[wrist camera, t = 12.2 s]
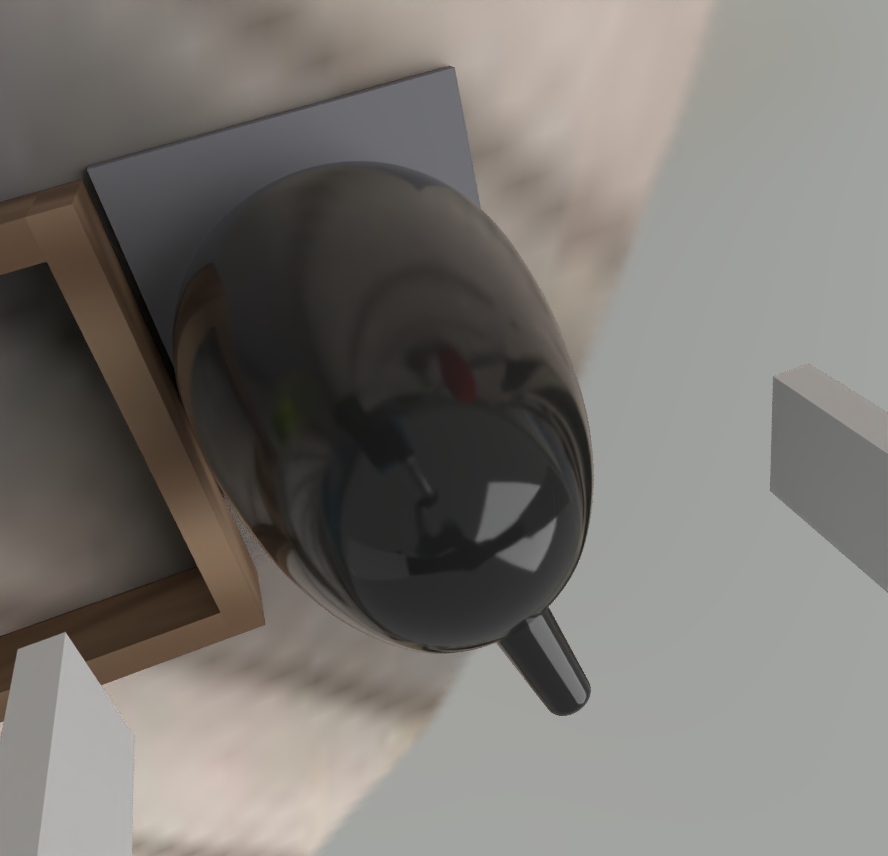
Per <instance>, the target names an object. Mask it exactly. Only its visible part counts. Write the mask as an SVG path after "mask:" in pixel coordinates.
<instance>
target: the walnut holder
mask: <svg viewBox="0 0 888 856" xmlns="http://www.w3.org/2000/svg"><path fill="white" fill-rule="evenodd" d="M44 262H47V263H48V265H49V267H50V269H51V271H52V273H53V275H54V277H55V279H56V281H57V283H58V285H59V287H60V289H61V291H62V293H63V295H64V298H65V300H66V302H67V304H68V306H69V308H70V310H71V312H72V314H73V316H74V318H75V320H76V322H77V324H78V326H79V328H80V330H81V332H82V334H83V336H84V338H85V340H86V342H87V344H88V346H89V348H90V350H91V352H92V354H93V356H94V358H95V360H96V362H97V364H98V366H99V368H100V370H101V372H102V374H103V376H104V378H105V380H106V382H107V384H108V386H109V388H110V390H111V392H112V394H113V396H114V398H115V400H116V402H117V404H118V407H119V409H120V411H121V413H122V415H123V417H124V419H125V421H126V423H127V425H128V427H129V429H130V431H131V433H132V435H133V437H134V439H135V441H136V443H137V445H138V447H139V449H140V451H141V453H142V455H143V457H144V459H145V461H146V463H147V465H148V467H149V469H150V471H151V473H152V475H153V477H154V479H155V481H156V483H157V485H158V487H159V489H160V491H161V493H162V495H163V497H164V499H165V501H166V503H167V505H168V507H169V509H170V511H171V513H172V516H173V518H174V520H175V522H176V524H177V526H178V528H179V530H180V532H181V534H182V536H183V538H184V540H185V542H186V544H187V546H188V548H189V550H190V552H191V554H192V556H193V558H194V560H195V562H196V564H197V566H198V567H196V568H193V569H191V570H188V571H185V572H182V573H179V574H176V575H174V576H171V577H168V578H165V579H162V580H159V581H157V582H154V583H151V584H148V585H145V586H143V587H140V588H137V589H134V590H131V591H128V592H126V593H123V594H120V595H117V596H114V597H111V598H109V599H106V600H103V601H100V602H97V603H95V604H92V605H89V606H86V607H83V608H80V609H78V610H75V611H72V612H69V613H66V614H63V615H61V616H58V617H55V618H52V619H49V620H47V621H44V622H41V623H38V624H35V625H32V626H30V627H27V628H24V629H21V630H18V631H15V632H13V633H10V634H7V635H4V636H1V637H0V722H3V721H4V718H5V713H6V708H7V702H8V697H9V692H10V687H11V682H12V676H13V671H14V666H15V661H16V656H17V650H18V649H20V648H23V647H26V646H28V645H31V644H34V643H37V642H39V641H42V640H45V639H48V638H50V637H53V636H56V635H59V634H62V633H64V632H66V634H67V635H68V637H69V638H70V640H71V641H72V643H73V644H74V646H75V647H76V649H77V650H78V652H79V653H80V655H81V656H82V658H83V659H84V661H85V662H86V664H87V665H88V667H89V668H90V670H91V671H92V673H93V674H94V676H95V677H96V679H97V680H98V682H99V683H100V685H103V684H106V683H108V682H111V681H114V680H116V679H119V678H122V677H125V676H127V675H130V674H133V673H135V672H138V671H141V670H144V669H146V668H149V667H152V666H154V665H157V664H160V663H163V662H165V661H168V660H171V659H173V658H176V657H179V656H181V655H184V654H187V653H190V652H192V651H195V650H198V649H200V648H203V647H206V646H209V645H211V644H214V643H217V642H219V641H222V640H225V639H228V638H230V637H233V636H236V635H238V634H241V633H244V632H247V631H249V630H252V629H255V628H257V627H260V626H263V625H265V619H264V612H263V606H262V599H261V593H260V587H259V580H258V574H257V571H256V568H255V566H254V564H253V562H252V560H251V557H250V555H249V553H248V551H247V548H246V546H245V544H244V542H243V539H242V537H241V535H240V533H239V530H238V528H237V526H236V524H235V521H234V519H233V517H232V515H231V512H230V510H229V508H228V506H227V503H226V501H225V499H224V497H223V494H222V492H221V490H220V488H219V485H218V484H217V482H216V480H215V479H214V477H213V475H212V473H211V471H210V469H209V468H208V466H207V464H206V462H205V460H204V458H203V455H202V453H201V451H200V449H199V447H198V444H197V442H196V440H195V437H194V435H193V433H192V430H191V428H190V425H189V422H188V420H187V417H186V414H185V412H184V409H183V405H182V402H181V400H180V398H179V395H178V393H177V391H176V389H175V387H174V384H173V382H172V380H171V378H170V375H169V373H168V371H167V369H166V366H165V364H164V362H163V360H162V357H161V355H160V353H159V351H158V348H157V346H156V344H155V342H154V339H153V337H152V335H151V333H150V330H149V328H148V326H147V324H146V321H145V319H144V317H143V315H142V312H141V310H140V308H139V306H138V303H137V301H136V299H135V297H134V294H133V292H132V290H131V288H130V285H129V283H128V281H127V279H126V276H125V274H124V272H123V270H122V267H121V265H120V263H119V261H118V258H117V256H116V254H115V252H114V249H113V247H112V245H111V243H110V240H109V238H108V236H107V234H106V231H105V229H104V227H103V225H102V223H101V220H100V218H99V216H98V214H97V211H96V209H95V207H94V205H93V202H92V200H91V198H90V196H89V193H88V191H87V189H86V187H85V184H84V182H83V180H78V181H75V182H71V183H68V184H64V185H60V186H57V187H53V188H50V189H46V190H43V191H39V192H35V193H32V194H28V195H25V196H21V197H17V198H14V199H10V200H7V201H3V202H0V275H3V274H6V273H10V272H13V271H17V270H20V269H23V268H27V267H30V266H34V265H37V264H41V263H44Z"/></svg>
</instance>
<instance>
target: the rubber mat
mask: <svg viewBox="0 0 888 856" xmlns="http://www.w3.org/2000/svg"><path fill="white" fill-rule="evenodd" d="M344 161H374V162H383V163H390V164H395V165H400V166H404V167H407V168H411V169H414V170H417V171H420V172H423V173H425V174H427V175H430V176H432V177H434V178H436V179H438V180H440V181H442V182H444V183H446V184H448V185H449V186H451V187H452V188H454V189H456V190H457V191H459V192H460V193H461V194H463V195H464V196H466V197H467V198H468V199H469V200H471V201H472V202H473V203H475V204H476V205H477V206H478V207H479V208H480V209H481V207H480V202H479V196H478V191H477V186H476V180H475V175H474V169H473V164H472V159H471V153H470V148H469V143H468V137H467V132H466V126H465V121H464V116H463V110H462V105H461V99H460V94H459V89H458V83H457V78H456V73H455V67H451V66H448V67H444V68H440V69H437V70H433V71H429V72H426V73H422V74H419V75H415V76H411V77H408V78H404V79H401V80H397V81H393V82H390V83H386V84H383V85H379V86H375V87H372V88H368V89H365V90H361V91H357V92H354V93H350V94H346V95H343V96H339V97H336V98H332V99H328V100H325V101H321V102H318V103H314V104H310V105H307V106H303V107H300V108H296V109H292V110H289V111H285V112H281V113H278V114H274V115H271V116H267V117H263V118H260V119H256V120H253V121H249V122H245V123H242V124H238V125H235V126H231V127H227V128H224V129H220V130H217V131H213V132H209V133H206V134H202V135H198V136H195V137H191V138H188V139H184V140H180V141H177V142H173V143H170V144H166V145H162V146H159V147H155V148H152V149H148V150H144V151H141V152H137V153H134V154H130V155H126V156H123V157H119V158H115V159H112V160H108V161H105V162H101V163H97V164H94V165H90V166H88V168H87V171H88V173H89V176H90V178H91V180H92V183H93V185H94V187H95V189H96V192H97V194H98V196H99V198H100V201H101V203H102V205H103V208H104V210H105V212H106V214H107V217H108V219H109V221H110V223H111V226H112V228H113V230H114V233H115V235H116V237H117V239H118V242H119V244H120V246H121V249H122V251H123V253H124V255H125V258H126V260H127V262H128V264H129V267H130V269H131V271H132V274H133V276H134V278H135V280H136V283H137V285H138V287H139V290H140V292H141V294H142V296H143V299H144V301H145V303H146V305H147V308H148V310H149V312H150V315H151V317H152V319H153V321H154V324H155V326H156V328H157V330H158V333H159V335H160V337H161V340H162V342H163V344H164V346H165V349H166V351H167V353H168V356H169V358H170V360H171V362H172V365H173V367H174V362H173V346H172V338H173V322H174V314H175V308H176V303H177V299H178V295H179V292H180V289H181V285H182V283H183V280H184V277H185V275H186V273H187V270H188V268H189V266H190V264H191V262H192V260H193V258H194V256H195V255H196V253H197V251H198V250H199V248H200V247H201V245H202V243H203V242H204V241H205V239H206V238H207V236H208V235H209V234H210V233H211V231H212V230H213V229H214V228H215V227H216V225H217V224H218V223H219V222H220V221H221V220H222V219H223V218H224V217H225V216H226V215H227V214H228V213H229V212H230V211H231V210H232V209H233V208H235V207H236V206H237V205H238V204H239V203H241V202H242V201H243V200H245V199H246V198H247V197H249V196H250V195H251V194H253V193H254V192H256V191H257V190H259V189H261V188H262V187H264V186H266V185H268V184H270V183H271V182H273V181H275V180H277V179H280V178H282V177H284V176H286V175H289V174H291V173H294V172H297V171H300V170H303V169H306V168H310V167H314V166H318V165H323V164H328V163H335V162H344Z"/></svg>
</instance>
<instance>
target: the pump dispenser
mask: <svg viewBox="0 0 888 856" xmlns="http://www.w3.org/2000/svg"><path fill="white" fill-rule="evenodd" d="M172 346H173V362H174V371H175V377H176V383H177V387H178V391H179V395H180V399H181V402H182V405H183V409H184V412H185V414H186V417H187V420H188V422H189V425H190V428H191V430H192V433H193V435H194V437H195V440H196V442H197V444H198V447H199V449H200V451H201V453H202V455H203V458H204V460H205V462H206V464H207V466H208V468H209V469H210V471H211V473H212V475H213V477H214V479H215V480H216V482H217V484H218V485H219V487H220V489H221V490H222V492H223V494H224V495H225V497H226V498H227V500H228V501H229V503H230V504H231V506H232V507H233V509H234V510H235V512H236V513H237V514H238V516H239V517H240V519H241V520H242V521H243V523H244V524H245V526H246V527H247V528H248V530H249V531H250V532H251V534H252V535H253V536H254V538H255V539H256V540H257V541H258V543H259V544H260V545H261V547H262V548H263V549H264V550H265V552H266V553H267V554H268V555H269V557H270V558H271V559H272V560H273V561H274V562H275V564H276V565H277V566H278V567H279V568H280V569H281V570H282V571H283V572H284V573H285V574H286V575H287V577H288V578H289V579H290V580H291V581H292V582H294V583H295V584H296V585H297V586H298V587H299V588H300V589H301V590H302V591H303V592H304V593H306V594H307V595H308V596H309V597H310V598H311V599H313V600H314V601H315V602H316V603H317V604H319V605H320V606H321V607H323V608H324V609H325V610H327V611H328V612H329V613H331V614H332V615H334V616H335V617H337V618H338V619H340V620H341V621H343V622H345V623H346V624H348V625H350V626H352V627H353V628H355V629H357V630H359V631H361V632H363V633H365V634H367V635H369V636H371V637H374V638H376V639H378V640H381V641H383V642H386V643H388V644H391V645H394V646H397V647H400V648H403V649H407V650H412V651H416V652H423V653H432V654H448V653H458V652H464V651H470V650H474V649H478V648H482V647H485V646H488V645H491V644H494V643H497V644H498V646H499V647H500V648H501V650H502V651H503V652H504V653H505V655H506V656H507V657H508V658H509V660H510V661H511V662H512V664H513V665H514V666H515V667H516V669H517V670H518V671H519V672H520V674H521V675H522V676H523V677H524V679H525V680H526V682H527V683H528V684H529V685H530V687H531V688H532V689H533V691H534V692H535V693H536V694H537V696H538V697H539V698H540V700H541V701H542V702H543V703H544V705H545V706H546V707H547V708H548V710H549V711H550V712H552V713H553V714H555V715H559V716H567V715H571V714H573V713H575V712H577V711H579V710H580V709H581V708H582V707H583V706H584V705H585V704H586V703H587V701H588V699H589V697H590V693H591V687H590V684H589V681H588V679H587V678H586V676H585V674H584V672H583V670H582V668H581V666H580V665H579V663H578V661H577V659H576V657H575V655H574V653H573V651H572V650H571V648H570V646H569V644H568V642H567V640H566V638H565V637H564V635H563V633H562V631H561V629H560V627H559V625H558V623H557V622H556V620H555V618H554V616H553V614H552V612H551V610H550V608H549V605H551V604H552V603H553V601H554V600H555V599H556V598H557V597H558V595H559V594H560V593H561V591H562V590H563V589H564V587H565V586H566V584H567V583H568V581H569V580H570V578H571V576H572V575H573V573H574V571H575V569H576V567H577V565H578V562H579V560H580V557H581V555H582V552H583V549H584V545H585V542H586V538H587V534H588V528H589V524H590V518H591V511H592V503H593V488H594V466H593V452H592V443H591V435H590V429H589V422H588V417H587V412H586V408H585V404H584V400H583V396H582V393H581V389H580V386H579V383H578V379H577V376H576V373H575V370H574V367H573V364H572V361H571V358H570V355H569V353H568V350H567V347H566V344H565V342H564V339H563V337H562V334H561V331H560V329H559V326H558V324H557V322H556V319H555V317H554V315H553V313H552V310H551V308H550V306H549V304H548V302H547V300H546V298H545V296H544V294H543V293H542V291H541V289H540V287H539V285H538V284H537V282H536V280H535V278H534V277H533V275H532V273H531V272H530V270H529V269H528V267H527V265H526V264H525V262H524V261H523V259H522V258H521V256H520V255H519V253H518V252H517V250H516V249H515V247H514V246H513V244H512V243H511V242H510V240H509V239H508V238H507V236H506V235H505V234H504V233H503V232H502V230H501V229H500V228H499V227H498V226H497V225H496V223H495V222H494V221H493V220H492V219H491V218H490V217H489V216H488V215H487V214H486V213H485V212H484V211H483V210H481V209H480V208H479V207H478V206H477V205H476V204H475V203H473V202H472V201H471V200H469V199H468V198H467V197H466V196H464V195H463V194H461V193H460V192H459V191H457V190H456V189H454V188H452V187H451V186H449V185H448V184H446V183H444V182H442V181H440V180H438V179H436V178H434V177H432V176H430V175H427V174H425V173H423V172H420V171H417V170H414V169H411V168H407V167H404V166H400V165H395V164H390V163H383V162H374V161H344V162H335V163H328V164H323V165H318V166H314V167H310V168H306V169H303V170H300V171H297V172H294V173H291V174H289V175H286V176H284V177H282V178H280V179H277V180H275V181H273V182H271V183H270V184H268V185H266V186H264V187H262V188H261V189H259V190H257V191H256V192H254V193H253V194H251V195H250V196H249V197H247V198H246V199H245V200H243V201H242V202H241V203H239V204H238V205H237V206H236V207H235V208H233V209H232V210H231V211H230V212H229V213H228V214H227V215H226V216H225V217H224V218H223V219H222V220H221V221H220V222H219V223H218V224H217V225H216V227H215V228H214V229H213V230H212V231H211V233H210V234H209V235H208V236H207V238H206V239H205V241H204V242H203V243H202V245H201V247H200V248H199V250H198V251H197V253H196V255H195V256H194V258H193V260H192V262H191V264H190V266H189V268H188V270H187V273H186V275H185V277H184V280H183V283H182V285H181V289H180V292H179V295H178V299H177V303H176V308H175V314H174V322H173V338H172Z"/></svg>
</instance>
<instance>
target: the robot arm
mask: <svg viewBox="0 0 888 856" xmlns="http://www.w3.org/2000/svg"><path fill="white" fill-rule="evenodd" d="M770 480H771V481H770V491H771V492H772V493H773V494H774V495H775V496H777V497H778V498H779V499H780V500H781V501H783V502H784V503H785V504H786V505H787V506H788V507H790V508H791V509H792V510H793V511H794V512H795V513H796V514H797V515H799V516H800V517H801V518H802V519H803V520H804V521H806V522H807V523H808V524H809V525H810V526H811V527H812V528H814V529H815V530H816V531H817V532H818V533H819V534H821V535H822V536H823V537H824V538H825V539H826V540H827V541H829V542H830V543H831V544H832V545H833V546H834V547H836V548H837V549H838V550H839V551H840V552H841V553H843V554H844V555H845V556H846V557H847V558H848V559H849V560H851V561H852V562H853V563H854V564H855V565H857V566H858V567H859V568H860V569H861V570H862V571H863V572H865V573H866V574H867V575H868V576H869V577H870V578H871V579H873V580H874V581H875V582H876V583H877V584H878V585H880V586H881V587H882V588H883V589H884V590H885V591H886V592H888V412H886V411H885V410H883V409H882V408H880V407H878V406H877V405H875V404H873V403H872V402H870V401H869V400H867V399H866V398H864V397H862V396H861V395H859V394H857V393H856V392H854V391H852V390H851V389H849V388H848V387H846V386H845V385H843V384H841V383H840V382H838V381H836V380H835V379H833V378H832V377H830V376H828V375H827V374H825V373H824V372H822V371H820V370H819V369H817V368H816V367H814V366H812V365H811V364H806V365H803V366H800V367H798V368H795V369H792V370H789V371H787V372H784V373H781V374H778V375H775V376H773V402H772V440H771V477H770ZM133 778H134V734H133V733H132V731H131V730H130V728H129V727H128V725H127V724H126V722H125V721H124V719H123V718H122V716H121V715H120V713H119V712H118V710H117V709H116V707H115V706H114V704H113V703H112V701H111V700H110V698H109V697H108V695H107V694H106V692H105V691H104V689H103V688H102V686H101V685H100V683H99V682H98V680H97V679H96V677H95V676H94V674H93V673H92V671H91V670H90V668H89V667H88V665H87V664H86V662H85V661H84V659H83V658H82V656H81V655H80V653H79V652H78V650H77V649H76V647H75V646H74V644H73V643H72V641H71V640H70V638H69V637H68V635H67V634H66V632H64V633H62V634H59V635H56V636H53V637H50V638H48V639H45V640H42V641H39V642H37V643H34V644H31V645H28V646H26V647H23V648H20V649H18V650H17V656H16V661H15V666H14V671H13V676H12V682H11V687H10V692H9V697H8V702H7V708H6V713H5V718H4V723H3V728H2V733H1V739H0V856H132V824H133Z"/></svg>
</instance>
